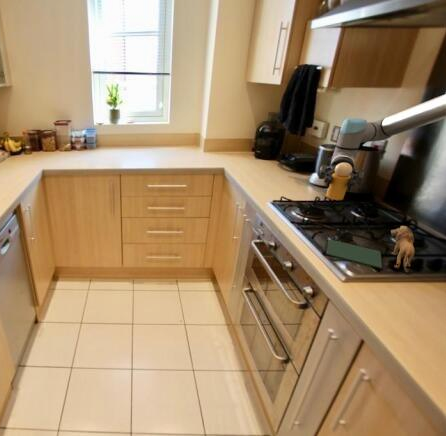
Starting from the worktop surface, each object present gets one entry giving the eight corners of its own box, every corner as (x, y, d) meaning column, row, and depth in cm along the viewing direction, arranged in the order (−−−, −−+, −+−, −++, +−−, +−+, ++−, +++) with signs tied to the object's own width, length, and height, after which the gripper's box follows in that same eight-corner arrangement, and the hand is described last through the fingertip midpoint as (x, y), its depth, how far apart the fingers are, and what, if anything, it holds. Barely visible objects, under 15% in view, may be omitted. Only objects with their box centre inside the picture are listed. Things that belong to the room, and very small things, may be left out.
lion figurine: (382, 246, 103) (392, 222, 99) (402, 249, 101) (414, 225, 97) (395, 272, 91) (408, 246, 87) (419, 276, 89) (433, 250, 85)
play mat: (379, 253, 100) (380, 251, 99) (381, 269, 92) (382, 267, 92) (328, 241, 107) (328, 239, 106) (326, 255, 99) (326, 253, 99)
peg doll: (343, 195, 111) (355, 162, 105) (343, 201, 107) (354, 166, 101) (326, 193, 114) (336, 159, 108) (325, 198, 110) (335, 163, 104)
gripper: (367, 179, 118) (369, 201, 101) (312, 171, 127) (305, 190, 110) (375, 159, 114) (377, 179, 97) (317, 152, 123) (310, 170, 107)
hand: (339, 185), depth 104 cm, fingers closed on peg doll, 5 cm apart
